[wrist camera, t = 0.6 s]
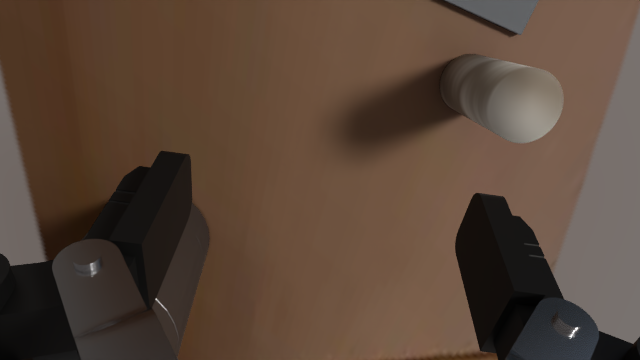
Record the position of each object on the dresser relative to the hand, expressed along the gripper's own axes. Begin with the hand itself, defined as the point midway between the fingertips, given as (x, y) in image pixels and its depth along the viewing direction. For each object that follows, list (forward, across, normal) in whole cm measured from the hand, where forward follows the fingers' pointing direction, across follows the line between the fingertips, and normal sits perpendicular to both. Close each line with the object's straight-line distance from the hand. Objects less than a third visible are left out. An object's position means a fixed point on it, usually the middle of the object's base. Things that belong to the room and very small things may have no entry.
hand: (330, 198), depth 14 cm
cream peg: (+27, +12, -7) cm, 30 cm away
